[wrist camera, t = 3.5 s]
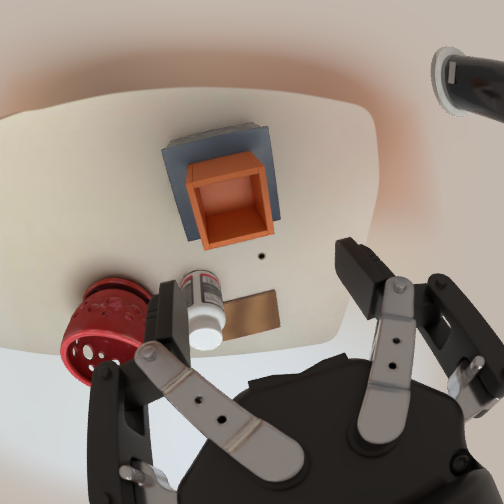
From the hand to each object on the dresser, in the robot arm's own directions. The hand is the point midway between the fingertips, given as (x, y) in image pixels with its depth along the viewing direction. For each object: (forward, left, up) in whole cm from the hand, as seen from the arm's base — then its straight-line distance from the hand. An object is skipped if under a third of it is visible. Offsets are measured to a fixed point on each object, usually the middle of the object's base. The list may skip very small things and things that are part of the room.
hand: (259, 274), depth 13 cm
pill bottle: (+6, +15, -20) cm, 26 cm away
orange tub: (0, 0, -14) cm, 14 cm away
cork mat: (+2, +23, -20) cm, 30 cm away
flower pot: (+18, +15, -20) cm, 31 cm away
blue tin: (0, 0, -20) cm, 20 cm away
